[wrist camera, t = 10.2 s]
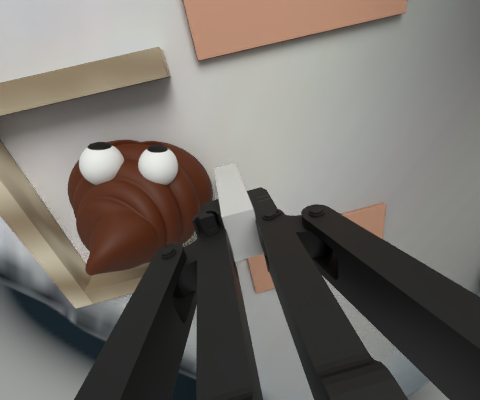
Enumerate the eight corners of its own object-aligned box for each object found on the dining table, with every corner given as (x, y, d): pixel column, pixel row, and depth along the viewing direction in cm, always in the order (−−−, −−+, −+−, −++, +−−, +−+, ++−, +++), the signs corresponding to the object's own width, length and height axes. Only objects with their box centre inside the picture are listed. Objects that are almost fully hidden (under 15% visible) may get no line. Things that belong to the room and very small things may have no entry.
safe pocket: (224, 253, 23) (227, 268, 22) (85, 290, 23) (75, 308, 21) (162, 49, 15) (158, 46, 14) (-57, 99, 15) (-91, 103, 13)
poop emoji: (89, 231, 20) (16, 337, 12) (65, 126, 17) (-64, 178, 8) (209, 229, 22) (217, 321, 14) (213, 134, 18) (227, 184, 10)
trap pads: (378, 257, 27) (380, 259, 27) (255, 290, 26) (256, 293, 26) (416, -146, 13) (422, -152, 13) (159, -94, 13) (158, -99, 12)
